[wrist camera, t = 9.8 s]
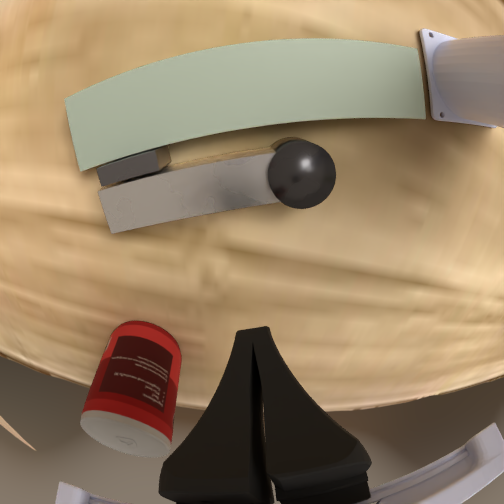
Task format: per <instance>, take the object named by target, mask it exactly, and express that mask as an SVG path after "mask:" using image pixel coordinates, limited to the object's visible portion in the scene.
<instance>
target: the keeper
mask: <svg viewBox="0 0 504 504" xmlns="http://www.w3.org/2000/svg"><path fill="white" fill-rule="evenodd" d="M169 162H171V157H170V153H169V148H168V144H167V145H163V146H160V147H156V148H152V149H149V150H145V151H142V152H138V153H135V154H131V155H128V156H125V157H122V158H119V159H115V160H113V161H111V162H109V163H107V164H105V165H103V166H101V167H99V168H97V173H98V176H99V180H100V183H101V187H102V186H106V185H109V184H112V183H115V182H119V181H122V180H126V179H129V178H133V177H136V176H140V175H144V174H147V173H151V172H155V171H159V170H161V169H162V168H163V167H164V166H166V165H167V164H168V163H169Z"/></svg>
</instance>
